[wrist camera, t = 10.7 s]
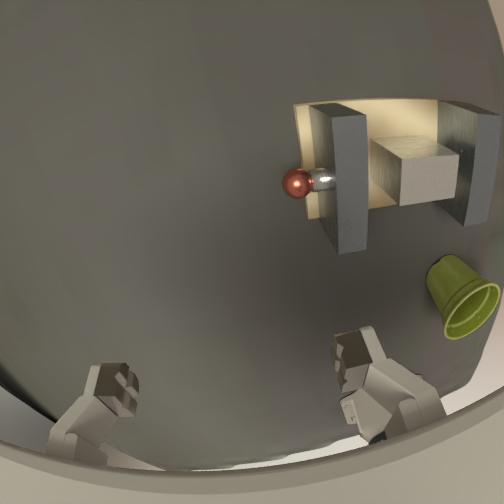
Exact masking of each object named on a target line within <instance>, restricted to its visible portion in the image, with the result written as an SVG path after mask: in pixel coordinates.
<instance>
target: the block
mask: <svg viewBox="0 0 504 504" xmlns="http://www.w3.org/2000/svg"><path fill="white" fill-rule="evenodd" d="M369 139H370V178H371V179H372V180H373V181H374V182H375V183H376V184H377V185H378V186H379V187H380V188H382V189H383V190H384V191H385V192H386V193H387V194H388V195H389V196H390V197H391V198H392V199H393V200H394V201H395V202H396V203H397V204H398V205H399V206H403V205H409V204H416V203H422V202H429V201H435V200H442V199H448V198H454V196H455V189H456V182H457V173H458V164H459V154H457V153H455V152H453V151H452V150H450V149H448V148H446V147H444V146H443V145H441V144H439V143H437V142H435V141H433V140H431V139H429V138H427V137H425V136H423V135H408V136H391V137H377V138H369Z"/></svg>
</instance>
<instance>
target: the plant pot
mask: <svg viewBox="0 0 504 504" xmlns="http://www.w3.org/2000/svg"><path fill="white" fill-rule="evenodd" d="M426 284H427V287H428V289H429V291H430V293H431V295H432V297H433V299H434V301H435V303H436V305H437V308H438V310H439V312H440V314H441V317H442V322H443V325H444V335H445V336H446V337H447V338H448V339H453V340H454V339H459V338H462V337H464V336H466V335H468V334H470V333H472V332H473V331H474V330H476V329H477V328H478V327H479V326H481V325H482V324H483V323H484V322H485V320H486V319H487V318H488V317H489V316H490V315H491V314H492V312H493V311H494V309H495V307H496V305H497V303H498V300H499V298H500V288H499V286H498V285H497V284H495V283H492V282H489V281H488V280H486V279H483V278H482V277H481V276H480V275H478V274H477V273H476V272H475V271H474V270H472V269H471V268H470V267H469V266H468V265H466V264H465V263H464V262H463V261H462V260H460V259H459V258H458V257H457V256H455V255H447V256H444V257H442V258H441V259H440V261H439V262H438V263H436V264H434V265H433V266H432V267H431V268H430V270H429V272H428V274H427V278H426Z"/></svg>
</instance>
